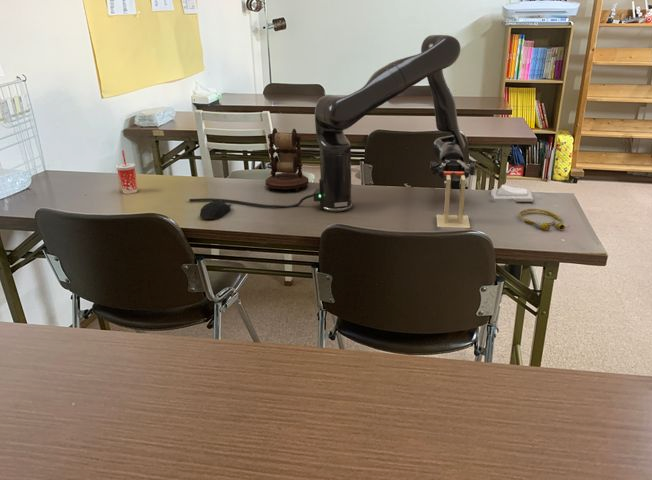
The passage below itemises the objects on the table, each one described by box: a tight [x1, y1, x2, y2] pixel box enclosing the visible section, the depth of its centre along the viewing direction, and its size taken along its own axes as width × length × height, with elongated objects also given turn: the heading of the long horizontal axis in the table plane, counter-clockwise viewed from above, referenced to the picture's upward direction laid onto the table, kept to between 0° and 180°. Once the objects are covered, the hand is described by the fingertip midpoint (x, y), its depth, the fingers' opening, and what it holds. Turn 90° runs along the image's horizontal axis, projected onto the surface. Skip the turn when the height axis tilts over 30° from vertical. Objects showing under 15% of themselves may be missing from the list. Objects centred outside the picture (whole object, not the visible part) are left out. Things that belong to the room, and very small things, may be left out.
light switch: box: [490, 184, 534, 203], centre depth 180 cm, size 11×4×13 cm
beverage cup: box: [115, 150, 138, 195], centre depth 186 cm, size 6×6×14 cm
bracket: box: [436, 175, 471, 229], centre depth 155 cm, size 10×9×14 cm
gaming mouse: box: [199, 200, 232, 220], centre depth 168 cm, size 6×15×4 cm, turn 163°
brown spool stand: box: [264, 127, 310, 192], centre depth 188 cm, size 15×15×20 cm
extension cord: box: [518, 208, 565, 231], centre depth 160 cm, size 12×16×2 cm
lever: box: [444, 171, 464, 190], centre depth 158 cm, size 13×6×2 cm, turn 174°
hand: (454, 175), depth 161 cm, fingers closed on lever, 6 cm apart
